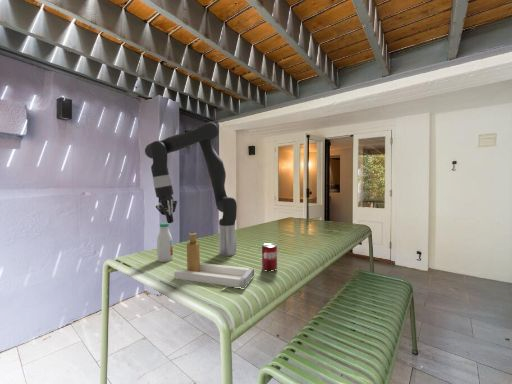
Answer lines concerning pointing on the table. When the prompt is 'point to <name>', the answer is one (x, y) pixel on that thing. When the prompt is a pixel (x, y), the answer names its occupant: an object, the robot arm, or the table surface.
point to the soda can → (269, 256)
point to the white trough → (218, 275)
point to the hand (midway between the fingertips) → (170, 222)
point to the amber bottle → (193, 254)
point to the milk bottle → (164, 244)
